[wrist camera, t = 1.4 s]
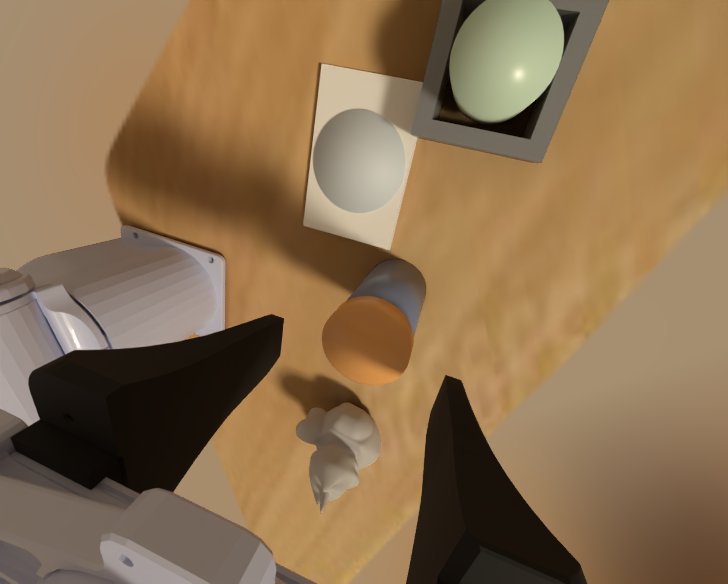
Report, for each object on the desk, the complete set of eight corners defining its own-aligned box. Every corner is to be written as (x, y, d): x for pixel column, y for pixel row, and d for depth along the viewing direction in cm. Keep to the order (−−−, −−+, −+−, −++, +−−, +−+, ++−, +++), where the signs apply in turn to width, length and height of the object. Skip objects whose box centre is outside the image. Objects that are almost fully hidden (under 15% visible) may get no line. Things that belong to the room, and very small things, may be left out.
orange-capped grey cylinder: (360, 305, 22) (316, 367, 16) (372, 250, 21) (329, 293, 14) (418, 324, 22) (397, 397, 15) (436, 268, 20) (421, 323, 13)
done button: (441, 115, 15) (436, 106, 13) (468, 17, 14) (469, -18, 11) (522, 132, 15) (535, 126, 12) (560, 30, 13) (585, -4, 10)
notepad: (305, 224, 21) (302, 225, 21) (323, 65, 17) (321, 63, 17) (390, 248, 20) (389, 250, 20) (430, 84, 16) (430, 83, 16)
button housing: (417, 137, 17) (410, 134, 15) (452, -3, 15) (450, -33, 12) (530, 162, 16) (541, 163, 14) (589, 15, 14) (614, -13, 11)
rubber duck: (373, 452, 28) (341, 553, 21) (307, 417, 28) (254, 503, 21) (396, 412, 25) (370, 511, 18) (323, 374, 26) (270, 456, 19)
